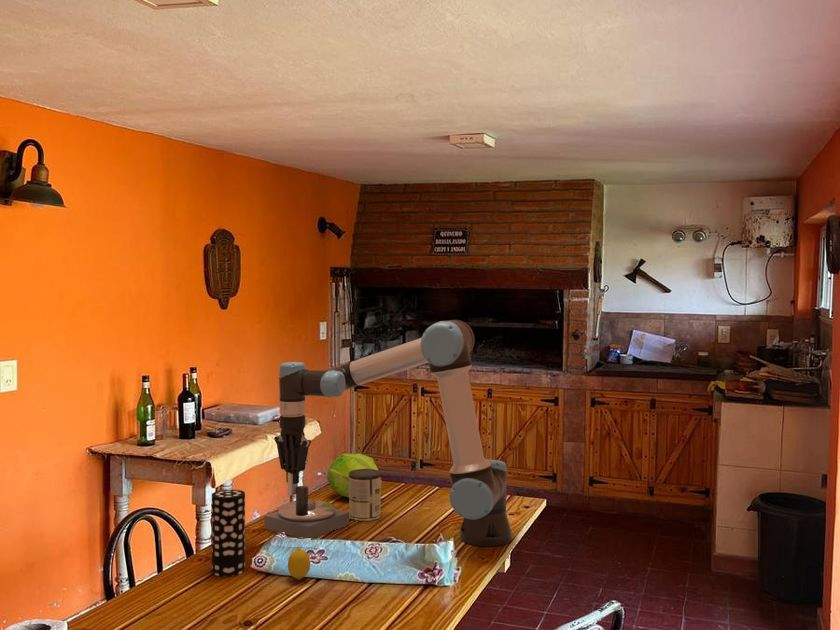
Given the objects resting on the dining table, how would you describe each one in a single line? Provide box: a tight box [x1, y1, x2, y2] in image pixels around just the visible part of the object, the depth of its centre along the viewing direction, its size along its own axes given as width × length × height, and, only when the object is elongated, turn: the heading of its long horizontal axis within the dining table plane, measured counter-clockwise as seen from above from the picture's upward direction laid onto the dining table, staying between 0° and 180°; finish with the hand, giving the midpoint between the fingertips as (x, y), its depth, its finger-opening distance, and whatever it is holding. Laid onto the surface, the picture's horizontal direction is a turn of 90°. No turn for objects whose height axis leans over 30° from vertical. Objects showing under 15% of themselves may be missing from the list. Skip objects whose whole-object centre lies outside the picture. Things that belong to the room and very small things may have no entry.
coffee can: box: [348, 469, 382, 522], centre depth 255 cm, size 10×10×14 cm
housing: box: [263, 508, 350, 539], centre depth 244 cm, size 18×18×4 cm
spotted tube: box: [211, 489, 246, 577], centre depth 206 cm, size 8×8×20 cm
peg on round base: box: [278, 485, 336, 521], centre depth 243 cm, size 17×17×10 cm
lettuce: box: [326, 452, 383, 499], centre depth 276 cm, size 17×20×15 cm
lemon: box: [287, 548, 311, 581], centre depth 201 cm, size 6×6×8 cm
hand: (292, 494), depth 238 cm, fingers closed
